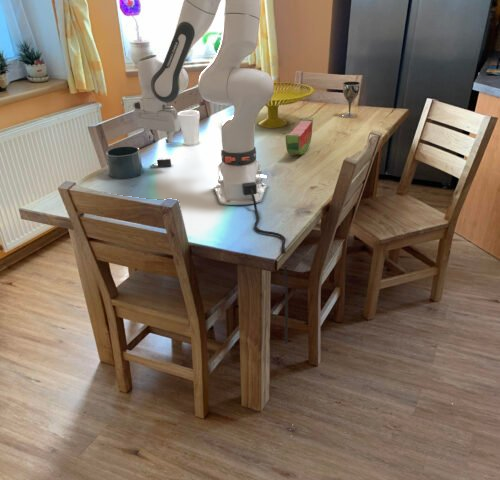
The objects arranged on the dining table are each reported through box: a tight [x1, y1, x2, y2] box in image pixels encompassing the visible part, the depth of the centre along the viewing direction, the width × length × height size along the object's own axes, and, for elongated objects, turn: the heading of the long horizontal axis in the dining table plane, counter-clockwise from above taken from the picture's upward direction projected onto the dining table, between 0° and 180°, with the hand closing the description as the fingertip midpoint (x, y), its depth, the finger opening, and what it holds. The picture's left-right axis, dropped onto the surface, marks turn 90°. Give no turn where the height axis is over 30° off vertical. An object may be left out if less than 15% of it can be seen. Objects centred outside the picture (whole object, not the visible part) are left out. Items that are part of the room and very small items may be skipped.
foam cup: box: [177, 109, 201, 147], centre depth 228 cm, size 10×9×13 cm
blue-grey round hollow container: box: [105, 145, 144, 180], centre depth 201 cm, size 13×13×8 cm
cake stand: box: [258, 81, 315, 129], centre depth 249 cm, size 40×40×15 cm
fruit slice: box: [285, 117, 314, 156], centre depth 214 cm, size 26×6×10 cm, turn 162°
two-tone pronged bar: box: [150, 157, 172, 169], centre depth 207 cm, size 8×3×3 cm, turn 91°
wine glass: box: [341, 81, 361, 118], centre depth 256 cm, size 8×8×15 cm
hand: (160, 141), depth 202 cm, fingers open, 8 cm apart
